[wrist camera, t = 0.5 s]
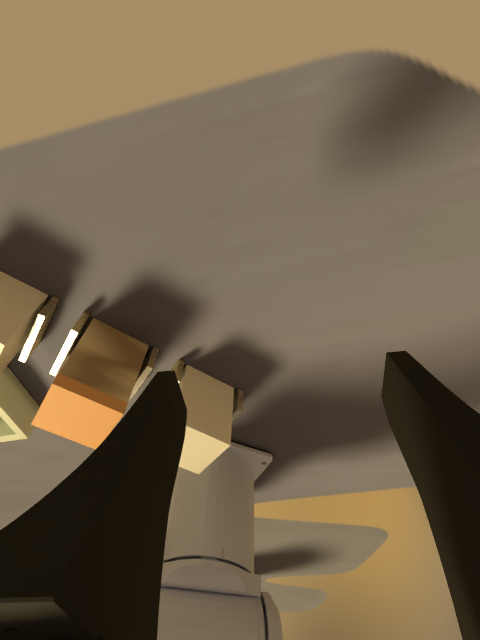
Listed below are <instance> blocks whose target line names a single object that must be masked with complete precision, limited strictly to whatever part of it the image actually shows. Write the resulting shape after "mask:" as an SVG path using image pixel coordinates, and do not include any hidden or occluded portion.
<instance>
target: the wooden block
mask: <svg viewBox="0 0 480 640" xmlns="http://www.w3.org/2000/svg"><path fill="white" fill-rule="evenodd" d="M148 347H149V345H147V344H145V343H143V342H141V341H139V340H137V339H135V338H133V337H131V336H129V335H127V334H125V333H123V332H121V331H119V330H117V329H115V328H113V327H111V326H109V325H107V324H105V323H103V322H101V321H99V320H97V319H95V318H93V320H92V321H91V323H90V325H89V326H88V328H87V329H86V331H85V333H84V334H83V336H82V337H81V339H80V341H79V342H78V344H77V345H76V347H75V348H74V350H73V352H72V353H71V355H70V356H69V358H68V360H67V361H66V363H65V364H64V366H63V368H62V369H61V371H60V372H59V374H58V375H57V377H56V379H55V380H54V382H53V383H52V385H51V387H50V389H49V391H48V393H47V395H46V397H45V399H44V400H43V402H42V404H41V406H40V408H39V410H38V412H37V414H36V416H35V418H34V420H33V421H32V423H31V425H33V426H36V427H39V428H41V429H44V430H46V431H49V432H52V433H54V434H57V435H59V436H62V437H65V438H67V439H70V440H72V441H75V442H78V443H80V444H83V445H85V446H88V447H91V448H93V449H97V447H98V446H99V445H100V444H101V443H102V442H103V441H104V440H105V439H106V437H107V436H108V435H109V433H110V432H111V431H112V429H113V428H114V427H115V425H116V424H117V423H118V421H119V420H120V419H121V417H122V416H123V414H124V412H125V409H126V407H127V404H128V401H129V399H130V396H131V393H132V390H133V388H134V385H135V382H136V380H137V377H138V374H139V372H140V369H141V366H142V363H143V361H144V358H145V355H146V353H147V350H148Z"/></svg>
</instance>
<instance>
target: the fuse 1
mask: <svg viewBox="0 0 480 640" xmlns="http://www.w3.org/2000/svg"><path fill="white" fill-rule="evenodd" d="M47 297H48V295H47V294H45V293H43V292H41V291H39V290H37V289H35V288H33V287H31V286H29V285H27V284H25V283H23V282H21V281H19V280H17V279H15V278H13V277H11V276H9V275H7V274H5V273H3V272H1V271H0V373H1V372H2V371H3V370H4V369H5V367H6V366H7V365H8V364H9V362H10V361H11V360H12V359H13V358H14V356H15V355H16V354H17V353H18V351H19V350H20V349H21V348H22V346H23V345H24V344H25V343H26V341H27V339H28V336H29V334H30V332H31V329H32V327H33V325H34V322H35V320H36V318H37V315H38V313H39V312H40V311H41V310H42V309H43V307H44V304H45V302H46V300H47Z"/></svg>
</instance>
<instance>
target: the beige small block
mask: <svg viewBox="0 0 480 640" xmlns="http://www.w3.org/2000/svg"><path fill="white" fill-rule="evenodd" d="M179 386H180V389H181V392H182V395H183V398H184V401H185V405H186V408H187V421H186V432H185V439H184V444H183V449H182V453H181V458H180V463H179V467H181V468H184V469H186V470H189V471H191V472H194V473H196V474H200V473H201V472H202V471H203V470H204V469H205V468H206V467H207V466H208V465H210V464H211V463H212V462H213V461H214V460H215V459H216V458H217V457H218V456H219V455H221V454H222V453H223V452H224V451H225V450H226V449H227V448H228V447H229V446H230V445H231V430H232V414H233V398H234V388H233V387H231V386H229V385H227V384H225V383H223V382H221V381H219V380H217V379H215V378H213V377H211V376H209V375H207V374H205V373H203V372H201V371H199V370H197V369H195V368H193V367H191V366H189V365H187V366H186V367H185V368H184V369H183V372H182V376H181V380H180V383H179Z"/></svg>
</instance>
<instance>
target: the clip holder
mask: <svg viewBox="0 0 480 640" xmlns="http://www.w3.org/2000/svg"><path fill="white" fill-rule="evenodd" d="M59 300H60V299H59V298H57V297H55V296H53V297H52V298H51V299H50V301H49V302H48V303H47V304H46V305H45V306H44V308H43V309H42V310H41V311H40V312H39V313H38V315H37V318H36V320H35V322H34V325H33V327H32V329H31V332H30V334H29V336H28V339H27V341H26V344H25V346H24V348H23V351H22V353H21V355H20V358H19V361H21V362H24V363H25V362H26V361H27V359H28V358H29V357H30V355H31V354H32V353H33V351H34V350H35V349H36V348H37V346H38V345H39V344H40V342H41V339H42V337H43V335H44V333H45V331H46V328H47V326H48V324H49V322H50V320H51V317H52V315H53V313H54V311H55V309H56V306H57V304H58V302H59ZM89 315H90V314H89V313H87V312H85V311H84V312H83V314H82V315H81V317H80V318H79V319H78V321H77V322H76V324H75V325H74V327H73V328H72V330H71V332H70V334H69V336H68V337H67V339H66V341H65V343H64V345H63V347H62V349H61V351H60V353H59V355H58V357H57V359H56V361H55V363H54V365H53V367H52V369H51V371H50V373H49V374H51V375H54V376H56V374H57V373H58V371H59V369H60V368H61V366H62V365H63V363H64V362H65V360H66V358H67V357H68V355H69V353H70V351H71V349H72V347H73V346H74V344H75V342H76V340H77V338H78V336H79V334H80V332H81V330H82V329H83V327H84V325H85V323H86V321H87V319H88V317H89ZM158 351H159V348H157V347H155V346H154V347H153V349H152V350H151V351H150V353H149V354H148V356H147V357H146V359H145V360H144V361H143V363H142V366H141V369H140V372H139V374H138V377H137V380H136V382H135V385H134V388H133V390H132V393H131V396H130V399H131V398H132V396H133V395H134V394H135V392H136V391H137V390H138V388H139V387H140V385H141V384H142V383H143V381H144V380H145V379H146V377H147V376H148V375H149V373H150V372H151V370H152V369H153V367H154V364H155V361H156V358H157V355H158ZM184 363H185V361H183V360H181V359H179V361H178V362H177V363H176V365H175V366H174V367H173V368H172V370H171V371H175V373H176V376H177V379H178V383H180V380H181V376H182V372H183V367H184ZM130 399H129V400H130ZM128 402H129V401H128ZM242 412H243V390H241V389H238V390H237V391H236V392H235V393H234V398H233V414H232V422H233V421H234V420H235V419H236V418H237V417H238V416H239V415H240V414H241V413H242Z"/></svg>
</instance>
